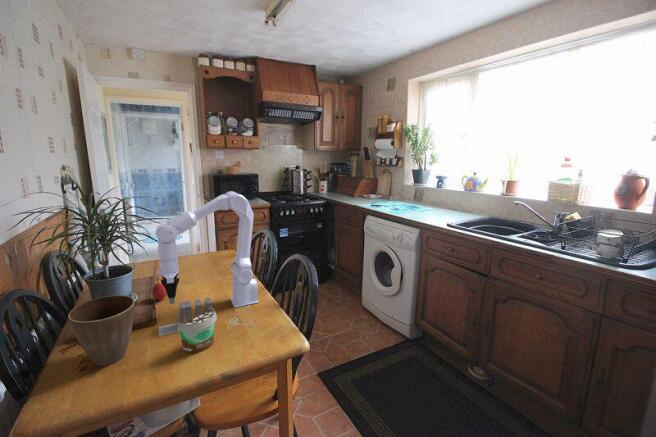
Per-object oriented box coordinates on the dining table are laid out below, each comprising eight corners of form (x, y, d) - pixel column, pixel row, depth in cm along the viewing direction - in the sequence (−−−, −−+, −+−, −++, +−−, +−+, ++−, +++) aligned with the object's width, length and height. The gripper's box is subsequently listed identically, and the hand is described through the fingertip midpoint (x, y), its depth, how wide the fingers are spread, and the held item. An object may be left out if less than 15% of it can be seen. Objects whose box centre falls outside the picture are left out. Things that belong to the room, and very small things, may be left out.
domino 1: (174, 298, 113) (172, 277, 112) (174, 303, 110) (173, 282, 108) (169, 298, 113) (167, 278, 111) (169, 304, 109) (167, 282, 107)
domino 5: (210, 317, 113) (209, 297, 111) (212, 323, 109) (211, 302, 107) (206, 318, 112) (204, 298, 111) (207, 324, 108) (206, 303, 107)
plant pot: (133, 369, 86) (127, 316, 82) (67, 381, 81) (57, 325, 77) (144, 339, 99) (139, 292, 96) (87, 348, 94) (80, 299, 91)
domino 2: (181, 323, 109) (185, 302, 108) (182, 330, 105) (186, 307, 104) (176, 324, 108) (180, 302, 107) (177, 330, 104) (180, 307, 103)
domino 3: (191, 321, 110) (190, 300, 108) (192, 328, 106) (191, 306, 105) (186, 322, 109) (185, 301, 108) (187, 329, 105) (186, 307, 104)
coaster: (178, 323, 109) (178, 322, 109) (179, 332, 104) (179, 331, 104) (158, 327, 106) (158, 326, 106) (158, 336, 101) (158, 336, 101)
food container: (191, 361, 89) (189, 330, 87) (178, 354, 93) (176, 323, 91) (226, 340, 100) (225, 311, 98) (213, 334, 103) (212, 306, 101)
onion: (162, 304, 122) (160, 284, 120) (149, 302, 123) (147, 283, 121) (172, 297, 128) (170, 279, 126) (159, 295, 129) (158, 277, 127)
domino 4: (201, 319, 111) (200, 299, 110) (202, 325, 108) (201, 304, 106) (196, 320, 111) (195, 300, 109) (197, 327, 107) (196, 305, 105)
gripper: (155, 253, 112) (159, 288, 115) (154, 266, 100) (158, 305, 103) (177, 250, 115) (180, 285, 118) (179, 263, 103) (182, 301, 106)
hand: (171, 294), depth 111 cm, fingers closed on domino 1, 4 cm apart
